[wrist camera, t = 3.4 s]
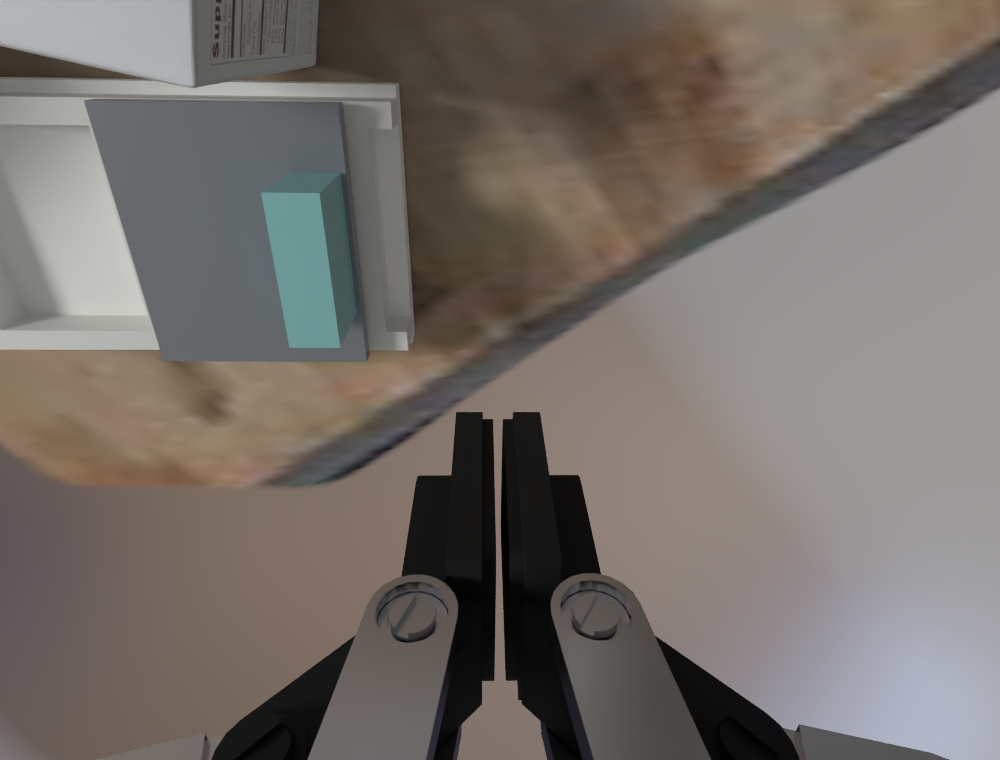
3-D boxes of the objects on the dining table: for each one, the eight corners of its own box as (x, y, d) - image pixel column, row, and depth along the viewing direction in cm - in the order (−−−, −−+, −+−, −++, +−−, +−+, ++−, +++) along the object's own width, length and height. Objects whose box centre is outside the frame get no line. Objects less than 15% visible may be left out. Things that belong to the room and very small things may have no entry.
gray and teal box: (342, 102, 23) (314, 114, 19) (369, 353, 28) (352, 401, 25) (95, 98, 23) (19, 110, 19) (171, 353, 28) (123, 401, 24)
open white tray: (398, 82, 26) (389, 87, 23) (414, 333, 32) (408, 359, 29) (-75, 75, 25) (-139, 79, 22) (33, 331, 31) (-8, 358, 29)
